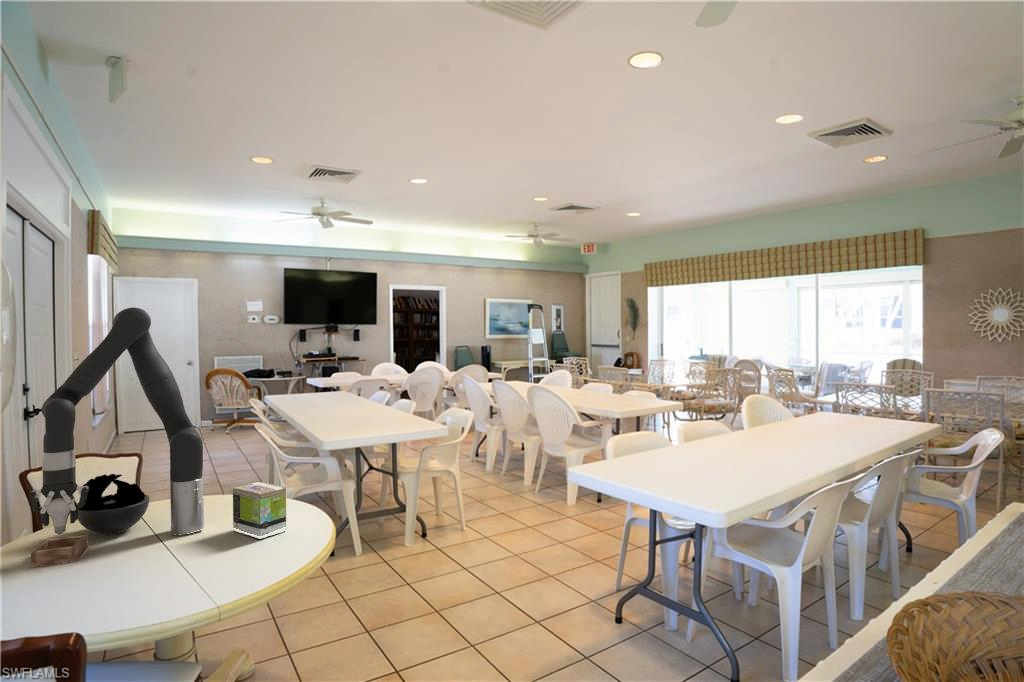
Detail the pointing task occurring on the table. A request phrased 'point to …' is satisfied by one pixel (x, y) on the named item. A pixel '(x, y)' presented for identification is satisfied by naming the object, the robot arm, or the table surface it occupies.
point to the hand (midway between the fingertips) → (59, 523)
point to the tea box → (259, 508)
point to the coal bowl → (112, 506)
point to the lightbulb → (59, 514)
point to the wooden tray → (59, 550)
